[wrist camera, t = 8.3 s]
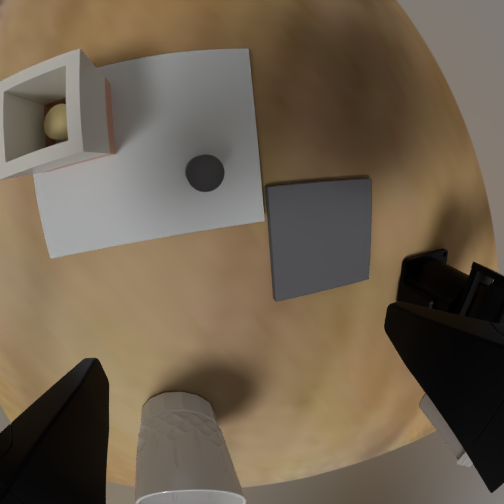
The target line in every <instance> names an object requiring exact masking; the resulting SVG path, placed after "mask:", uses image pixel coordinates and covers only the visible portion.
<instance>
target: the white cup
mask: <svg viewBox="0 0 504 504" xmlns="http://www.w3.org/2000/svg"><path fill="white" fill-rule="evenodd" d="M138 436H139V437H138V445H137V457H136V484H135V489H136V490H135V504H246V498H245V496H244V493H243V490H242V488H241V485H240V482H239V480H238V477H237V474H236V471H235V468H234V465H233V462H232V459H231V456H230V453H229V451H228V448H227V445H226V442H225V440H224V437H223V434H222V431H221V429H220V428H219V425H218V422H217V418H216V415H215V412H214V410H213V408H212V406H211V404H210V403H209V402H208V401H206V400H205V399H203V398H201V397H200V396H198V395H195V394H190V393H186V392H167V393H162V394H159V395H157V396H155V397H152V398H150V399H149V400H148V401H147V403H146V404H145V405H144V406H143V407H142V415H141V426H140V432H139V435H138Z"/></svg>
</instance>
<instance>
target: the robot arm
mask: <svg viewBox="0 0 504 504" xmlns="http://www.w3.org/2000/svg"><path fill="white" fill-rule="evenodd" d="M447 254H448V252H447V250H446V249H439V250H436V251H432V252H429V253H425V254H421V255H418V256H414V257H410V258H407V259H405V260H404V262H403V266H402V275H401V282H400V290H399V296H398V302H395V303H392V304H390V305H389V306H388V307H387V312H386V318H385V324H384V328H385V332H386V334H387V335H388V337H389V339H390V340H391V342H392V344H393V345H394V347H395V349H396V350H397V352H398V354H399V355H400V357H401V359H402V360H403V362H404V363H405V365H406V366H407V368H408V369H409V371H410V372H411V373H412V375H413V376H414V378H415V379H416V380H417V382H418V383H419V384H420V386H421V387H422V389H423V390H424V391H425V393H426V394H427V396H428V397H429V398H430V400H431V401H432V403H433V404H434V405H435V407H436V408H437V410H438V411H439V413H440V414H441V416H442V417H443V418H444V420H445V421H446V423H447V424H448V426H449V427H450V429H451V430H452V432H453V433H454V435H455V436H456V438H457V439H458V441H459V442H460V444H461V445H462V447H463V448H464V450H465V451H466V453H467V455H468V457H469V458H470V460H471V461H472V463H473V464H474V466H475V468H476V469H477V471H478V473H479V474H480V476H481V478H482V479H483V481H484V483H485V484H486V486H487V488H488V489H489V491H490V492H491V493H493V492H494V491H495V490H496V489H497V488H498V487H500V486H501V485H502V484H503V483H504V276H503V275H501V274H499V273H497V272H495V271H493V270H491V269H489V268H487V267H484V266H482V265H480V264H478V263H475V262H473V264H472V267H471V268H472V269H471V272H470V275H467V274H465V273H463V272H461V271H459V270H457V269H455V268H453V267H451V266H449V265H447V264H446V261H447ZM493 279H494V281H493ZM492 282H493V283H492ZM108 437H109V382H108V379H107V376H106V374H105V372H104V370H103V368H102V365H101V363H100V361H99V360H98V359H97V358H85V359H83V360H82V361H81V362H80V363H79V364H77V365H76V366H75V367H74V368H73V369H72V370H70V371H69V372H68V373H67V374H66V375H65V376H63V377H62V378H61V379H60V380H59V381H58V382H57V383H55V384H54V385H53V386H52V387H51V388H50V389H49V390H47V391H46V392H45V393H44V394H43V395H42V396H41V397H40V398H38V399H37V400H36V401H35V402H34V403H33V404H32V405H31V406H29V407H28V408H27V409H26V410H25V411H24V412H23V413H22V414H21V415H19V416H18V417H17V418H16V419H15V420H14V421H13V422H12V423H11V424H10V425H8V426H7V427H6V428H5V429H4V430H3V431H2V432H1V433H0V504H106V467H107V450H108Z"/></svg>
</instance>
